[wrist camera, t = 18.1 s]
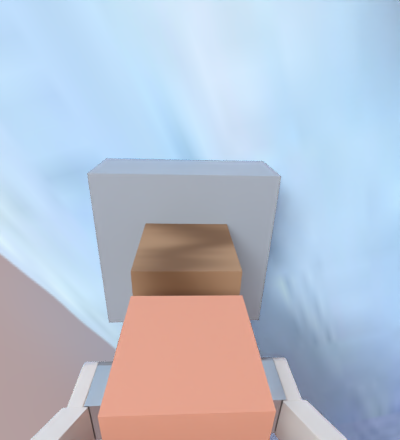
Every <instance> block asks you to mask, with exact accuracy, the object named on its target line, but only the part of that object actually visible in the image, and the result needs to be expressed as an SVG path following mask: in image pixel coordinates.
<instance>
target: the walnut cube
mask: <svg viewBox="0 0 400 440" xmlns="http://www.w3.org/2000/svg"><path fill="white" fill-rule="evenodd" d="M241 279H242V269H241V266H240V263H239V259H238V256H237V253H236V250H235V247H234V244H233V241H232V238H231V235H230V232H229V229H228V226H227V224H154V223H146V224H145V227H144V230H143V233H142V237H141V240H140V243H139V246H138V249H137V253H136V256H135V259H134V262H133V265H132V269H131V282H132V294H133V296H223V295H240V288H241Z"/></svg>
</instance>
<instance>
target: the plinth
mask: <svg viewBox="0 0 400 440" xmlns="http://www.w3.org/2000/svg"><path fill="white" fill-rule="evenodd" d="M87 175H88V182H89V189H90V196H91V203H92V210H93V216H94V223H95V230H96V237H97V244H98V251H99V257H100V264H101V271H102V278H103V285H104V292H105V299H106V305H107V312H108V319H109V322H124V319H125V316H126V312H127V308H128V305H129V301H130V298H131V296H133V294H132V282H131V269H132V265H133V262H134V259H135V256H136V253H137V249H138V246H139V243H140V240H141V237H142V233H143V230H144V227H145V224H146V223H154V224H227V226H228V229H229V232H230V235H231V238H232V241H233V244H234V247H235V250H236V253H237V256H238V259H239V263H240V266H241V269H242V279H241V288H240V295H243V299H244V302H245V306H246V309H247V313H248V316H249V320H259V315H260V308H261V302H262V296H263V289H264V283H265V276H266V270H267V263H268V257H269V251H270V244H271V238H272V231H273V225H274V218H275V212H276V206H277V199H278V193H279V186H280V180H281V176H280V175H279V174H278V173H277V172H275V171H274V170H273V169H272V168H271V167H269V166H268V165H267V164H266V163H264V162H263V161H219V160H164V159H109V158H106V159H105V160H104V161H102V162H101V163H100V164H99V165H97V166H96V167H95V168H93V169H92V170H91V171H90V172H88V173H87Z"/></svg>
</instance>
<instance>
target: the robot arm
mask: <svg viewBox="0 0 400 440" xmlns="http://www.w3.org/2000/svg"><path fill="white" fill-rule="evenodd" d="M261 361H262V364H263V368H264V371H265V375H266V378H267V382H268V385H269V388H270V392H271V395H272V399H273V402H274V406H275V409H276V414H275V418H274V422H273V427H272V431H271V433H275V435H276V437H277V438H278V439H279V440H348V439H346V438H345V437H344V436H343V435H342V434H341V433H340V432H339V431H338V430H337V429H336V428H335V427H334V426H333V425H332V424H331V423H330V422H329V421H328V420H327V419H326V418H325V417H324V416H322V415H321V414H320V413H319V412H318V411H317V410H316V409H315V408H314V407H313V406H312V405H311V404H310V403H309V402H308V401H307V400H302V398H301V395H300V393H299V390H298V388H297V385H296V383H295V380H294V378H293V375H292V373H291V370H290V367H289V365H288V362H287V360H286V359H285V358H284V357H279V358H271V357H268V358H261ZM112 363H113V362H85V364H84V365H83V367H82V369H81V372H80V375H79V377H78V380H77V382H76V385H75V387H74V390H73V393H72V395H71V398H70V401H69V403H68V406H67V408H62V409H61V410H60V411H59V412H58V413H57V414H56V415H55V416H54V417H53V418H52V419H51V420H50V421H49V422H48V423H47V424H46V425H45V426H44V427H43V428H42V429H41V430H40V431H39V432H38V433H37V434H36V435H34V437H32V438H31V439H30V440H102V437H101V432H100V427H99V421H98V414H99V410H100V406H101V403H102V399H103V396H104V392H105V388H106V385H107V381H108V377H109V374H110V370H111V367H112Z"/></svg>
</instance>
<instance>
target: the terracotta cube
mask: <svg viewBox="0 0 400 440" xmlns="http://www.w3.org/2000/svg"><path fill="white" fill-rule="evenodd" d="M275 414H276V409H275V406H274V402H273V399H272V395H271V392H270V388H269V385H268V382H267V378H266V375H265V371H264V368H263V364H262V361H261V357H260V354H259V351H258V347H257V344H256V340H255V337H254V333H253V330H252V326H251V323H250V320H249V316H248V313H247V309H246V306H245V302H244V299H243V295H223V296H131V298H130V301H129V305H128V308H127V312H126V316H125V319H124V323H123V327H122V330H121V334H120V338H119V341H118V345H117V348H116V352H115V356H114V359H113V363H112V367H111V370H110V374H109V377H108V381H107V385H106V388H105V392H104V396H103V399H102V403H101V406H100V410H99V414H98V421H99V427H100V432H101V437H102V440H269V439H270V435H271V431H272V427H273V422H274V418H275Z"/></svg>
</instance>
